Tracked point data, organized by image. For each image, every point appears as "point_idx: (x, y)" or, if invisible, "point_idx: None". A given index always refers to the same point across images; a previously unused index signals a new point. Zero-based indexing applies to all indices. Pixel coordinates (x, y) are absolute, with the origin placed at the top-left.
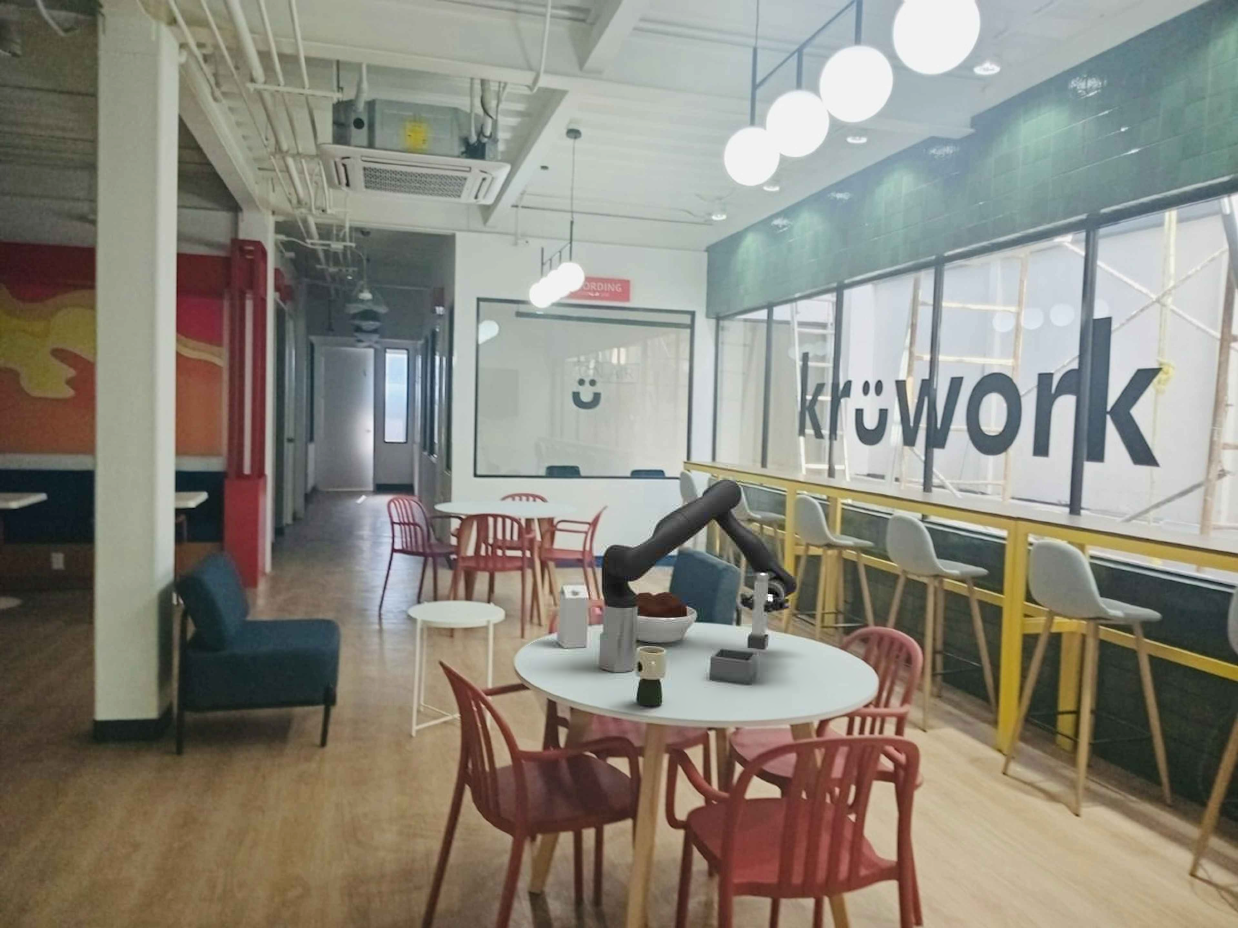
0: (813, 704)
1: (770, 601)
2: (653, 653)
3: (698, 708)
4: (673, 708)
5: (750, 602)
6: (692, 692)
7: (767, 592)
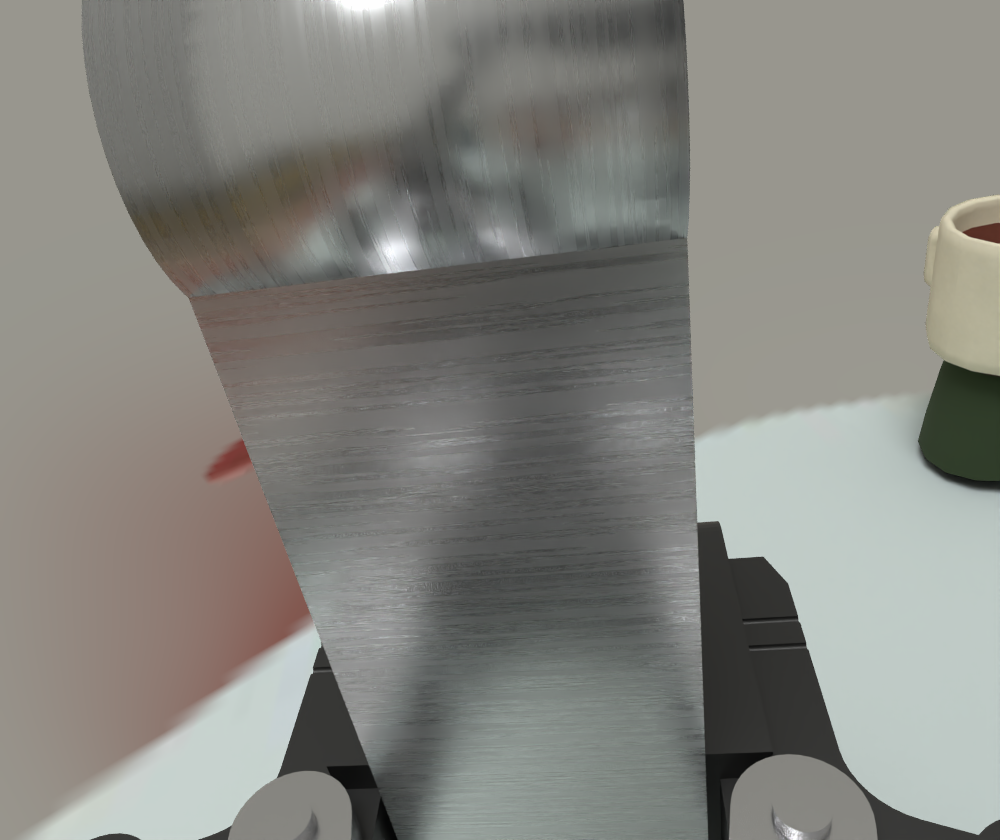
0: (206, 796)
1: (293, 775)
2: (969, 201)
3: (764, 499)
4: (856, 460)
5: (705, 524)
6: (936, 673)
7: (321, 600)
